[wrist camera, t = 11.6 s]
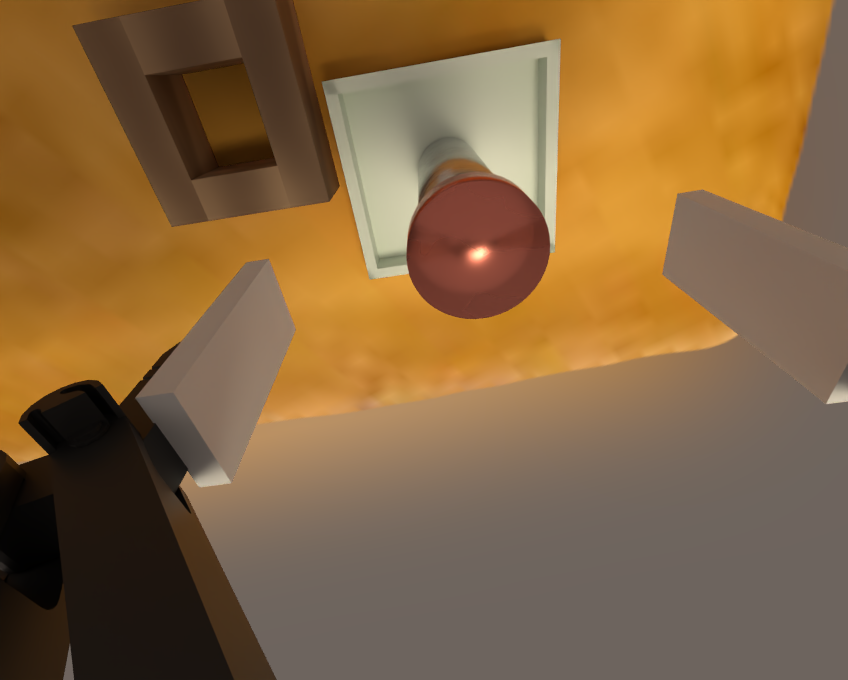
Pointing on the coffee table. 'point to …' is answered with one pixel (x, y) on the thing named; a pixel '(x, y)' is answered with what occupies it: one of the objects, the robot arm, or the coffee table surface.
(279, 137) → the socket block
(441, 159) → the pin
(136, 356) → the coffee table surface
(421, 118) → the tray
